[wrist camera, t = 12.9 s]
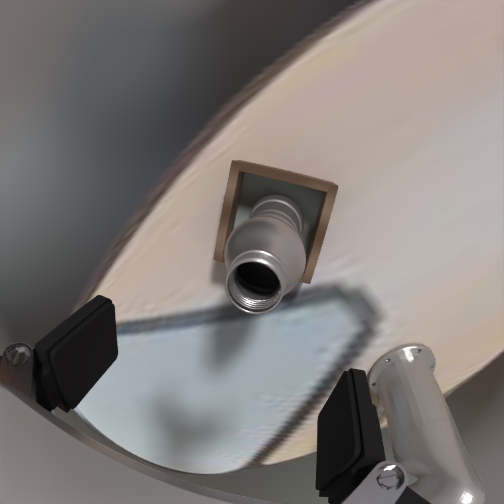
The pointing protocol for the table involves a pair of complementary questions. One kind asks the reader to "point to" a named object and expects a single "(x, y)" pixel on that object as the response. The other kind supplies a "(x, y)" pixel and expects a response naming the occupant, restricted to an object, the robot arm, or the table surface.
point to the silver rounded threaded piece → (265, 255)
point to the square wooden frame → (277, 183)
